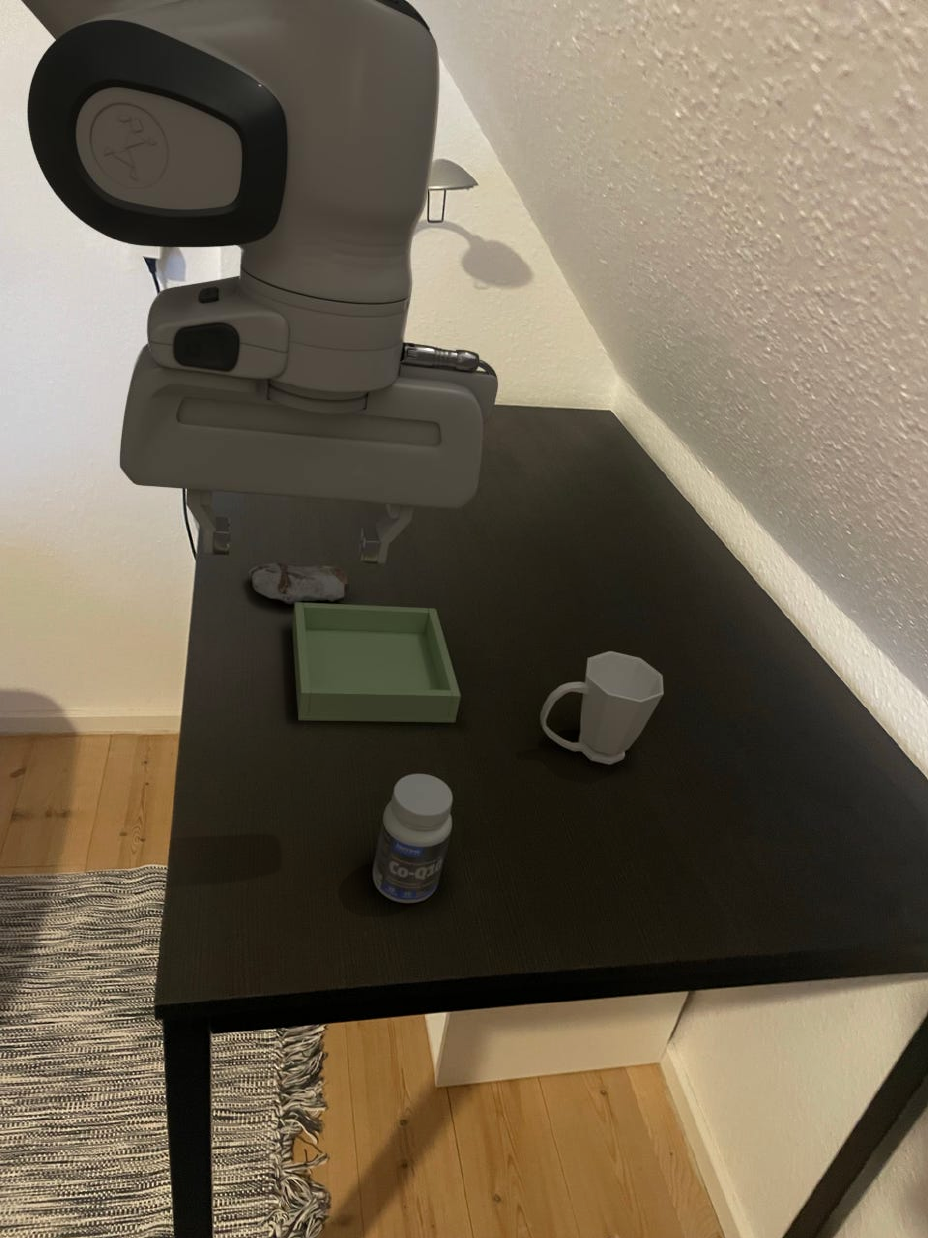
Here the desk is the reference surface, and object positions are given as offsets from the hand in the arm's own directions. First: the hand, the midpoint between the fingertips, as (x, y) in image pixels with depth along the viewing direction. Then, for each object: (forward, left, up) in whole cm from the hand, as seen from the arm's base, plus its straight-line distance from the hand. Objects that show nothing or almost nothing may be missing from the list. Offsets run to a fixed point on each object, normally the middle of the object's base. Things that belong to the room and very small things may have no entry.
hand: (295, 554), depth 58 cm
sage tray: (+9, +18, -22) cm, 30 cm away
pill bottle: (+9, -6, -23) cm, 25 cm away
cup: (+27, +8, -23) cm, 36 cm away
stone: (+3, +31, -23) cm, 38 cm away
